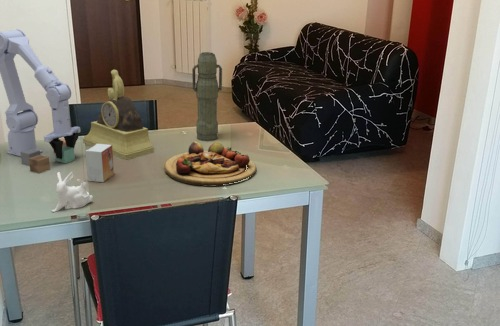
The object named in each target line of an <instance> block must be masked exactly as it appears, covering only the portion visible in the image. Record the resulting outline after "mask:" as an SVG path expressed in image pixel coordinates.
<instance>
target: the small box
mask: <svg viewBox="0 0 500 326" xmlns="http://www.w3.org/2000/svg"><path fill="white" fill-rule="evenodd" d="M85 158H86V161H85V162H86V169H87V171H86V172H87V180H88V182H96V183H97V182H98V183H99V182H100V183H104V182H106V181H107V180H108V179H110V178H111V177H113V176H114V174H115V169H114V155H113V150H112V145H107V144H96V145H95V146H93V147H92V146H90V148H88V149H86V150H85Z"/></svg>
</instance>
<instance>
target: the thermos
mask: <svg viewBox="0 0 500 326" xmlns="http://www.w3.org/2000/svg"><path fill="white" fill-rule="evenodd" d="M217 62H218V60H217V57H216V54H215V53H213V52H208V51H206V52H201V53H199V55H198V58H197V63H196V64H195V65H194V66H193V67H192V71H191V72H192V73H191V74H192V79H191V80H192V90H193V91H194V92H195V93H196V98H197V120H196V129H195V131H196V139H197V140H199V141H202V142H211V141H212V142H213V141H216V140H218V133H219V123H218V119H217V117H218V115H217V114H218V111H217V110H218V107H217V106H218V105H217V104H218V103H217V102H218V97H219V92H220V91H221V92H222V91H223V90H222V89H223V68H222V66H221V65H220V64H218V63H217ZM196 69H197V75H198V76H197V80H196ZM217 69H219V70H217ZM217 72H218V77H217ZM217 78H218V79H217Z"/></svg>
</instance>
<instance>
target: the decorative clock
mask: <svg viewBox="0 0 500 326" xmlns="http://www.w3.org/2000/svg"><path fill="white" fill-rule="evenodd" d="M110 74H111V78H112V87H108V89H107V97H108V99H109V100H108V101H105V102H103V103H102V105H101V108H100V109H101V110H100V113H99V114H98V116H97V120H96V121H91V122H90V129H89V132H88V134H86V135H85V136H84V137H82V142H83V144H85V143H86V144H85V145H87V144H88V145H87V146H90V147H93V146H95V145H96V144H107V145H112V150H113V157H114V156H115V157H117V158H120V159H122V160H125V161H129V160H131V159H132V160H133V159H135V158H138V157H142V156H145V155H146V156H147V155H149V154H151V153H152V154H153V153H155V147H154V146H153V144H152V141H151V139H150V136H149V128H147V127H144V125H143V121H142V118H141V116H140V114H139V111H138V109H137V107H136V106H135V105H134V103H133V101H132V100H131V98H129V97H128V96H125V86H124V82H123V79H122V78H121V76H120V75H119V71H118V70H117V69H112V70H111V71H110Z"/></svg>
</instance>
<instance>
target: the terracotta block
mask: <svg viewBox="0 0 500 326" xmlns="http://www.w3.org/2000/svg"><path fill="white" fill-rule="evenodd" d="M59 139H60V140H61V141H63V146H66V142H65V139H64V138H59ZM63 146H62V147H63ZM53 153H54V154H55V152H54V151H53Z"/></svg>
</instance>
